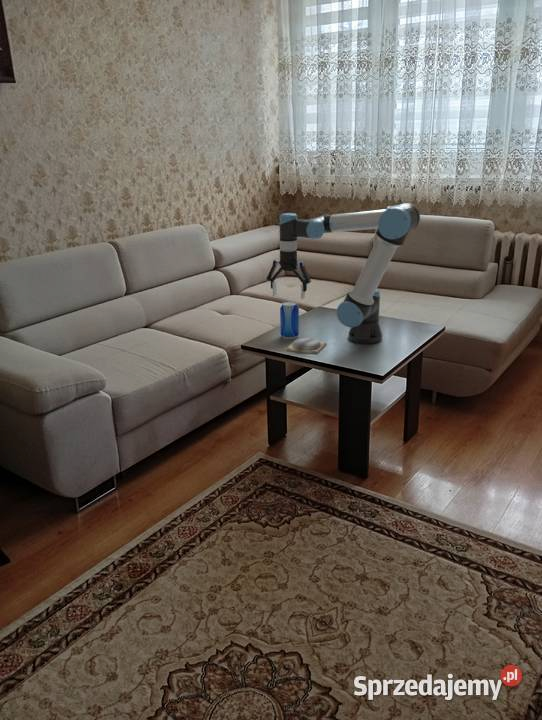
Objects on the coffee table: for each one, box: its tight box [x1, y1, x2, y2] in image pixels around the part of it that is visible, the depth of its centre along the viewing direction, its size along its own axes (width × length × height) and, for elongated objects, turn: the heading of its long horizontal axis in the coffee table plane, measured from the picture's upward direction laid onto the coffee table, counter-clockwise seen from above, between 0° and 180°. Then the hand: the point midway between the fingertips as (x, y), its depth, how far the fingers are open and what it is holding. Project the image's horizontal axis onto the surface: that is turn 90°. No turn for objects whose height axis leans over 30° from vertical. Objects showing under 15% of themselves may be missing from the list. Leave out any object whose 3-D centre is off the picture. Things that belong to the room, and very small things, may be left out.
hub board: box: [286, 337, 327, 355], centre depth 266 cm, size 14×12×2 cm
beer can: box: [279, 301, 300, 341], centre depth 277 cm, size 8×8×16 cm
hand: (288, 297), depth 273 cm, fingers open, 13 cm apart
